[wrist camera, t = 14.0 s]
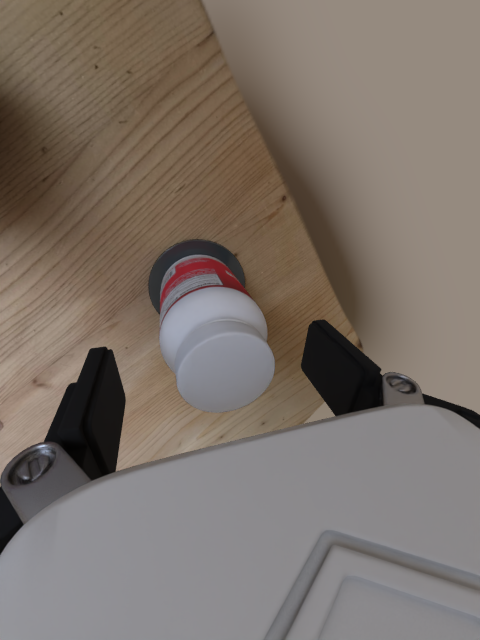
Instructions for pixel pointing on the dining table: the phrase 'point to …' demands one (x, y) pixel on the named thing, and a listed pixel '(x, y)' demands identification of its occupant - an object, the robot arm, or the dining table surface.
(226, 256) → the coaster
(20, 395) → the dining table surface
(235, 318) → the pill bottle
